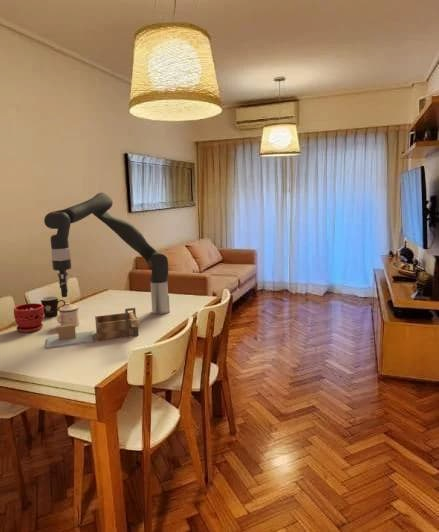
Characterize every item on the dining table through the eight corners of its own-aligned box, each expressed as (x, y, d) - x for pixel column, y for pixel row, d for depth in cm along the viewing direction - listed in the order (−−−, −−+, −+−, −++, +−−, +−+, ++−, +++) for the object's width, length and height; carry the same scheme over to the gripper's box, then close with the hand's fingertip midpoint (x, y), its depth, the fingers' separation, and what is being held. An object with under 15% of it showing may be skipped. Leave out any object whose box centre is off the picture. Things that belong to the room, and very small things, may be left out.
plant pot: (18, 336, 182) (15, 311, 180) (14, 329, 193) (11, 305, 190) (48, 330, 190) (46, 306, 188) (42, 323, 200) (39, 301, 198)
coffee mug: (38, 317, 211) (37, 299, 209) (50, 313, 219) (49, 295, 217) (55, 319, 207) (53, 301, 205) (67, 314, 214) (65, 297, 213)
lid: (91, 333, 185) (90, 318, 183) (93, 343, 172) (91, 327, 171) (47, 339, 178) (46, 324, 177) (46, 349, 166) (44, 333, 165)
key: (134, 317, 174) (134, 311, 174) (138, 326, 162) (138, 319, 162) (128, 318, 173) (127, 312, 173) (131, 327, 161) (131, 320, 161)
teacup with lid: (69, 321, 202) (67, 300, 200) (83, 323, 198) (81, 301, 196) (51, 329, 191) (49, 306, 189) (65, 331, 188) (63, 307, 186)
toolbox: (134, 327, 190) (133, 301, 188) (138, 336, 178) (137, 308, 176) (96, 332, 184) (94, 305, 182) (97, 342, 172) (95, 312, 170)
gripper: (52, 257, 175) (56, 292, 177) (50, 261, 161) (54, 299, 164) (70, 255, 177) (74, 290, 180) (70, 260, 164) (73, 297, 167)
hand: (64, 294), depth 172 cm, fingers open, 8 cm apart
